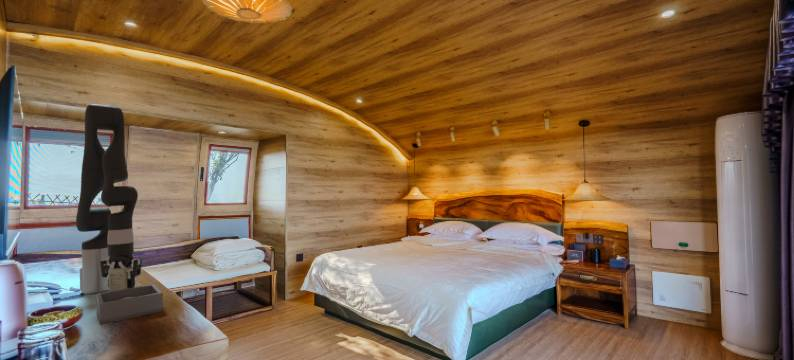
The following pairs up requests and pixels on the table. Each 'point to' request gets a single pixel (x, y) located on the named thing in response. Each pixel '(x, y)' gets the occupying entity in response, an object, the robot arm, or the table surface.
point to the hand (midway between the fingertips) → (121, 288)
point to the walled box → (129, 303)
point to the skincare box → (117, 279)
